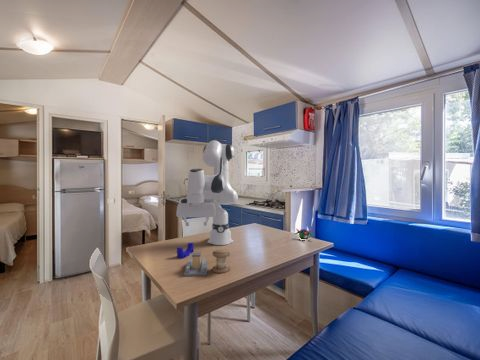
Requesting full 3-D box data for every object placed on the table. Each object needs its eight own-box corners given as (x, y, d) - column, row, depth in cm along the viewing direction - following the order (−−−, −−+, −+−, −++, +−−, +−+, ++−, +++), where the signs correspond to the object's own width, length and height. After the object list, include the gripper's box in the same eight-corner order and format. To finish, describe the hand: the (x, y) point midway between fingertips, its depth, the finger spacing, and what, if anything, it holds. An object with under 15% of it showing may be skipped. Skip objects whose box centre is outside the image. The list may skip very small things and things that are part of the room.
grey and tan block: (192, 266, 122) (192, 252, 121) (200, 265, 122) (200, 252, 122) (192, 269, 117) (192, 255, 117) (200, 268, 118) (200, 255, 118)
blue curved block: (183, 258, 135) (183, 248, 135) (177, 257, 137) (177, 247, 137) (195, 252, 146) (195, 243, 146) (189, 251, 148) (189, 242, 148)
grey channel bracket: (187, 263, 127) (187, 257, 127) (207, 262, 128) (207, 256, 128) (183, 276, 111) (183, 269, 111) (206, 275, 112) (206, 268, 112)
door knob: (212, 266, 123) (212, 250, 123) (229, 265, 124) (229, 249, 124) (212, 273, 114) (212, 255, 114) (230, 272, 115) (230, 255, 115)
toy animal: (310, 244, 164) (310, 231, 164) (292, 240, 175) (292, 227, 175) (317, 241, 172) (318, 228, 172) (300, 237, 183) (300, 225, 183)
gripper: (216, 198, 124) (216, 223, 124) (177, 199, 121) (177, 224, 121) (216, 199, 117) (216, 226, 117) (175, 200, 115) (175, 227, 115)
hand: (196, 225), depth 119 cm, fingers open, 8 cm apart
